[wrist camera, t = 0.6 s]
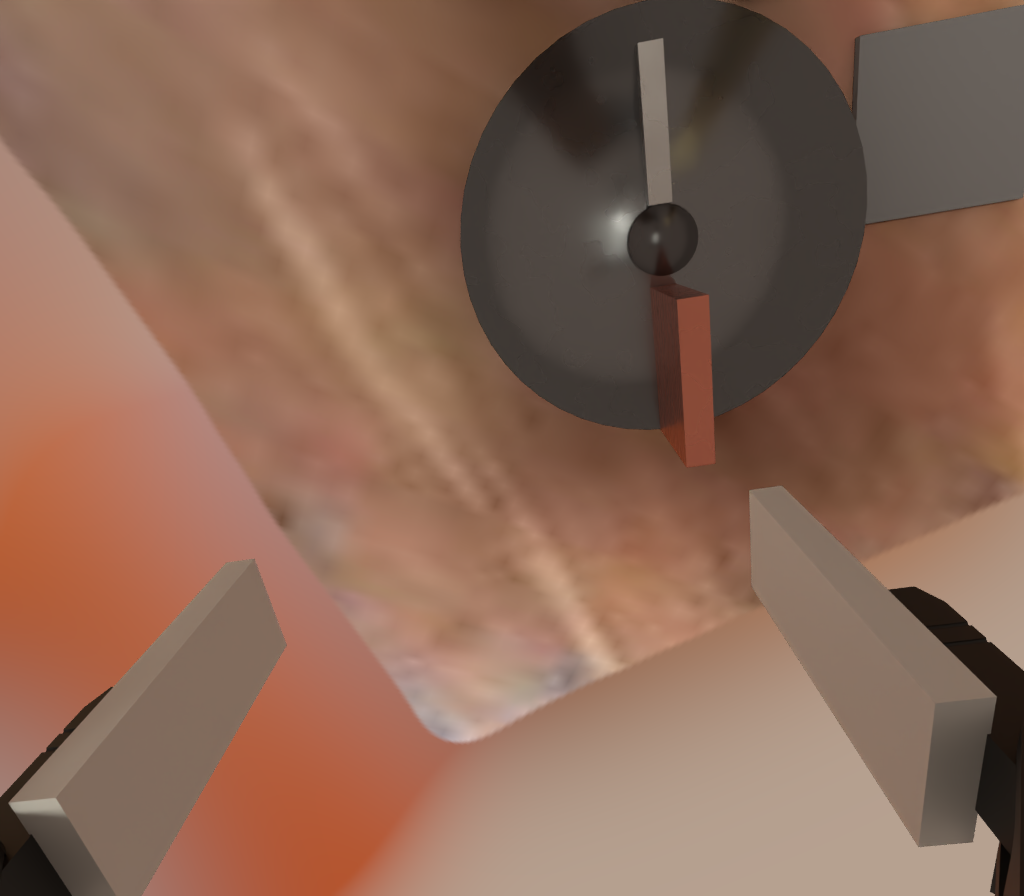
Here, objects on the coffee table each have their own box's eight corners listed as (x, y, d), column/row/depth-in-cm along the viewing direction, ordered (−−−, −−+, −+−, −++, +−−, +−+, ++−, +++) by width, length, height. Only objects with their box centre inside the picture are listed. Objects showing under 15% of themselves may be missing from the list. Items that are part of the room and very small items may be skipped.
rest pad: (855, 38, 26) (860, 35, 25) (1043, 3, 25) (1050, -1, 25) (847, 226, 29) (851, 226, 28) (1016, 198, 28) (1023, 197, 28)
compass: (429, 59, 25) (396, -2, 19) (852, -25, 24) (976, -123, 17) (498, 439, 31) (491, 494, 25) (836, 390, 30) (923, 435, 23)
